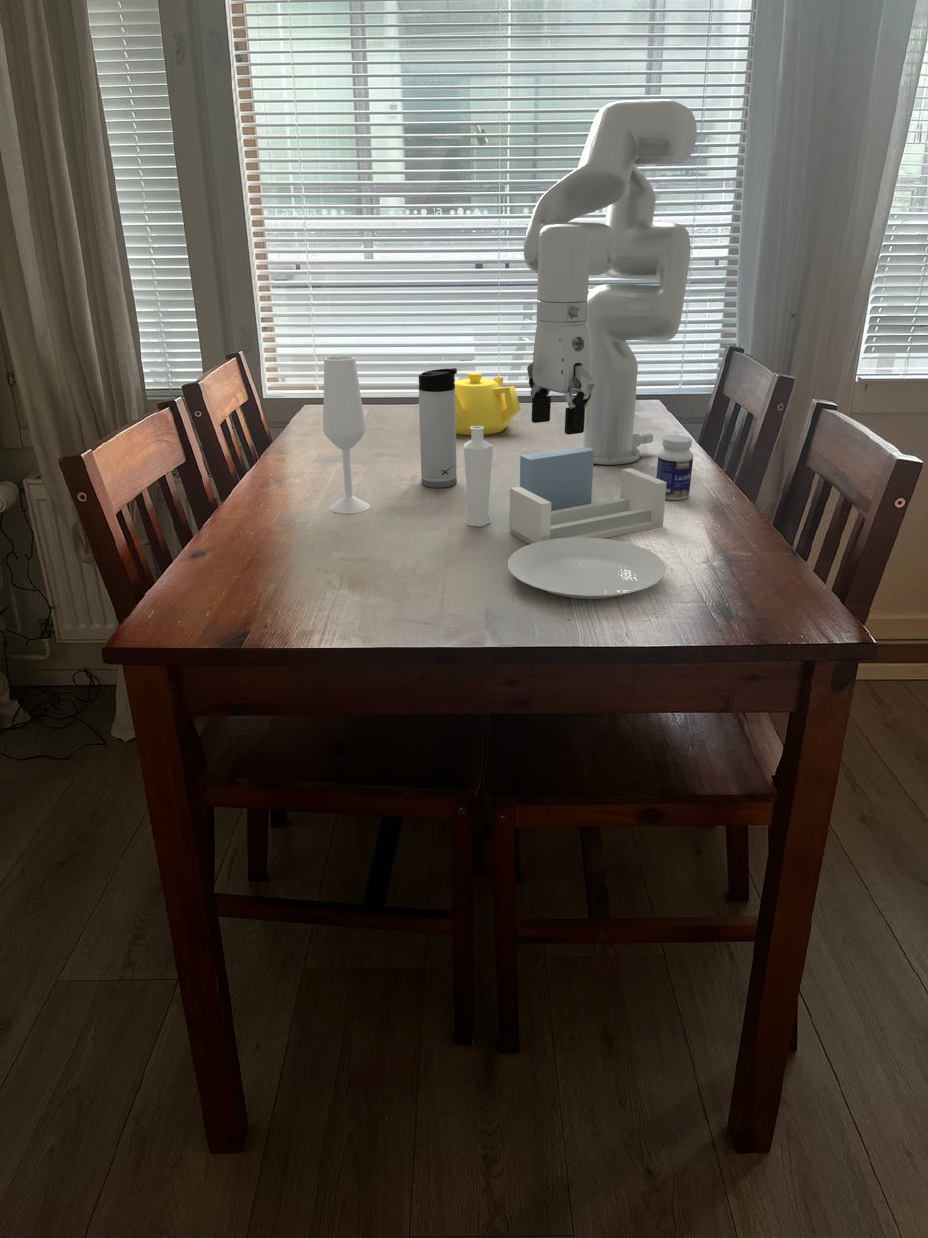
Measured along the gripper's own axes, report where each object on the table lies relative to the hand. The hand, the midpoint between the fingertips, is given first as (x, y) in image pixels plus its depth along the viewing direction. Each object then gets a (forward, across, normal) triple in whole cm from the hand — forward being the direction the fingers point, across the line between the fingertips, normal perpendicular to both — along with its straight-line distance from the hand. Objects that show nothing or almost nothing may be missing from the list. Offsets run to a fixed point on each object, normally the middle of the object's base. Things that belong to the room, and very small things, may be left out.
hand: (557, 427), depth 144 cm
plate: (+14, -27, +12) cm, 33 cm away
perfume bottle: (+14, 0, +14) cm, 20 cm away
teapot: (+12, +56, -15) cm, 59 cm away
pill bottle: (+13, -4, -21) cm, 25 cm away
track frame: (+13, -11, +1) cm, 18 cm away
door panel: (+13, +1, -1) cm, 13 cm away
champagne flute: (+14, +17, +29) cm, 36 cm away
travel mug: (+13, +22, +10) cm, 27 cm away
